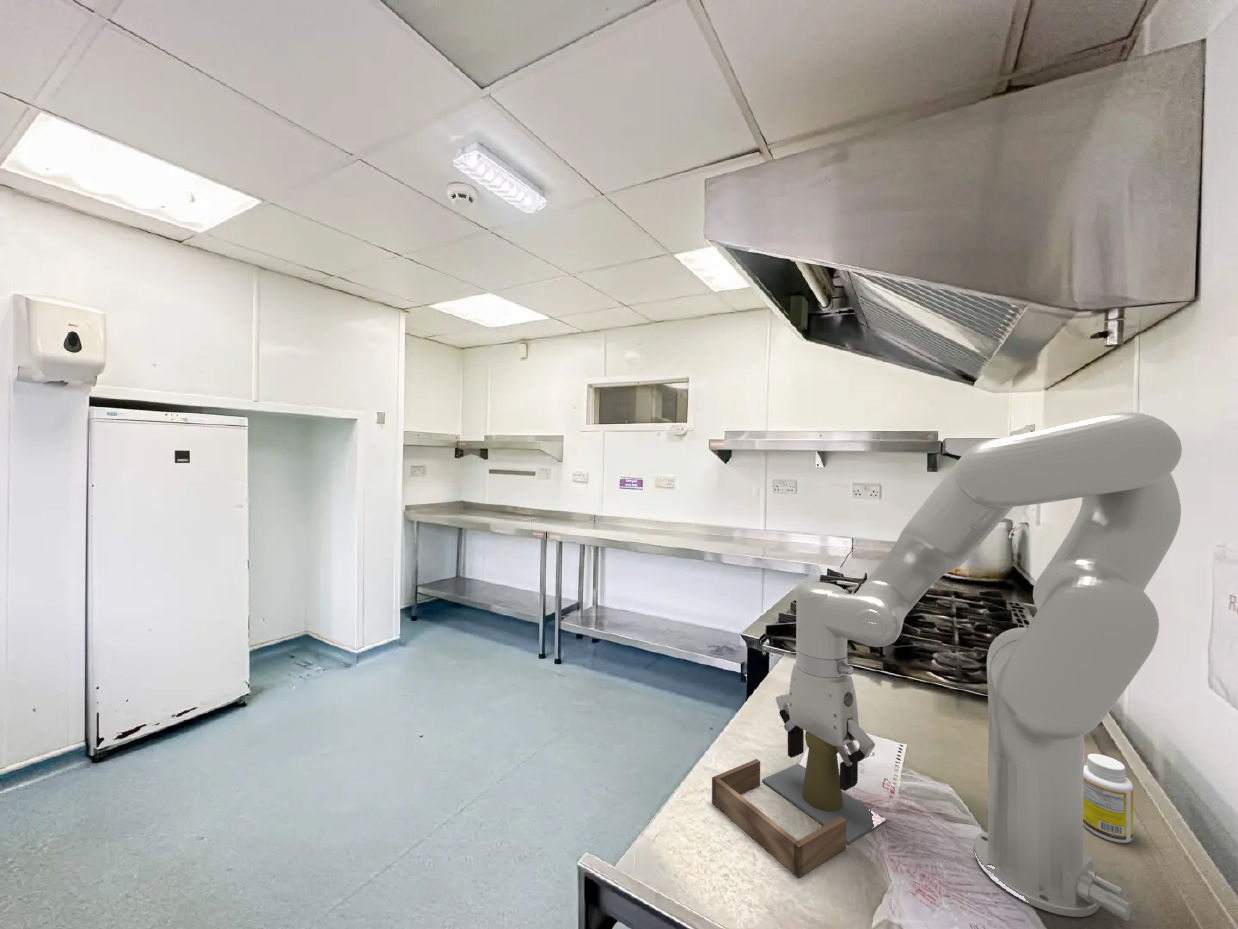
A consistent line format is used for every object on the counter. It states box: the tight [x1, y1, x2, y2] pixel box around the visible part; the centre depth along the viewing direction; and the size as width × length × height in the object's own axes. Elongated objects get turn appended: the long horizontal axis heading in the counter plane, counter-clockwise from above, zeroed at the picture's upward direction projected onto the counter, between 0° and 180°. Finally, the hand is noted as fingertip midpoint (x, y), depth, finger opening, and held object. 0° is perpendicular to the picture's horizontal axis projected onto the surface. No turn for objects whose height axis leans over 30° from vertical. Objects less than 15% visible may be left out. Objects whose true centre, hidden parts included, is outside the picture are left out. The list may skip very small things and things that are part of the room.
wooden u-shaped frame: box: [711, 758, 847, 879], centre depth 74 cm, size 17×10×4 cm, turn 31°
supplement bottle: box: [1083, 753, 1134, 844], centre depth 73 cm, size 6×6×10 cm
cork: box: [802, 731, 843, 812], centre depth 79 cm, size 6×6×11 cm
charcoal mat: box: [761, 763, 874, 845], centre depth 79 cm, size 16×9×1 cm, turn 31°
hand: (820, 770), depth 79 cm, fingers open, 9 cm apart
